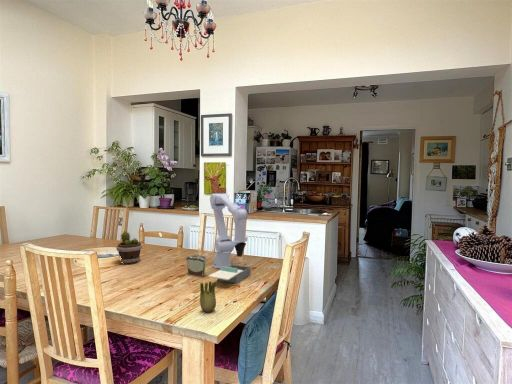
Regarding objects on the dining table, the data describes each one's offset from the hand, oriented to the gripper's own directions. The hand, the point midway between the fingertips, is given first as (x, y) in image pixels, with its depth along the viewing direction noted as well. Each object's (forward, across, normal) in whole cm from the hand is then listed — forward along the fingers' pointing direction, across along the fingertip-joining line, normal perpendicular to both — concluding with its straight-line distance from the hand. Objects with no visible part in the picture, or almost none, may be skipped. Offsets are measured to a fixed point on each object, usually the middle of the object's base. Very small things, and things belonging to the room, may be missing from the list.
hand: (239, 256), depth 175 cm
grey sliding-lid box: (+10, -5, 0) cm, 12 cm away
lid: (+6, -14, 0) cm, 15 cm away
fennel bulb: (+11, -46, -10) cm, 48 cm away
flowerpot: (+11, -9, +71) cm, 73 cm away
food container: (+11, -9, +20) cm, 25 cm away
